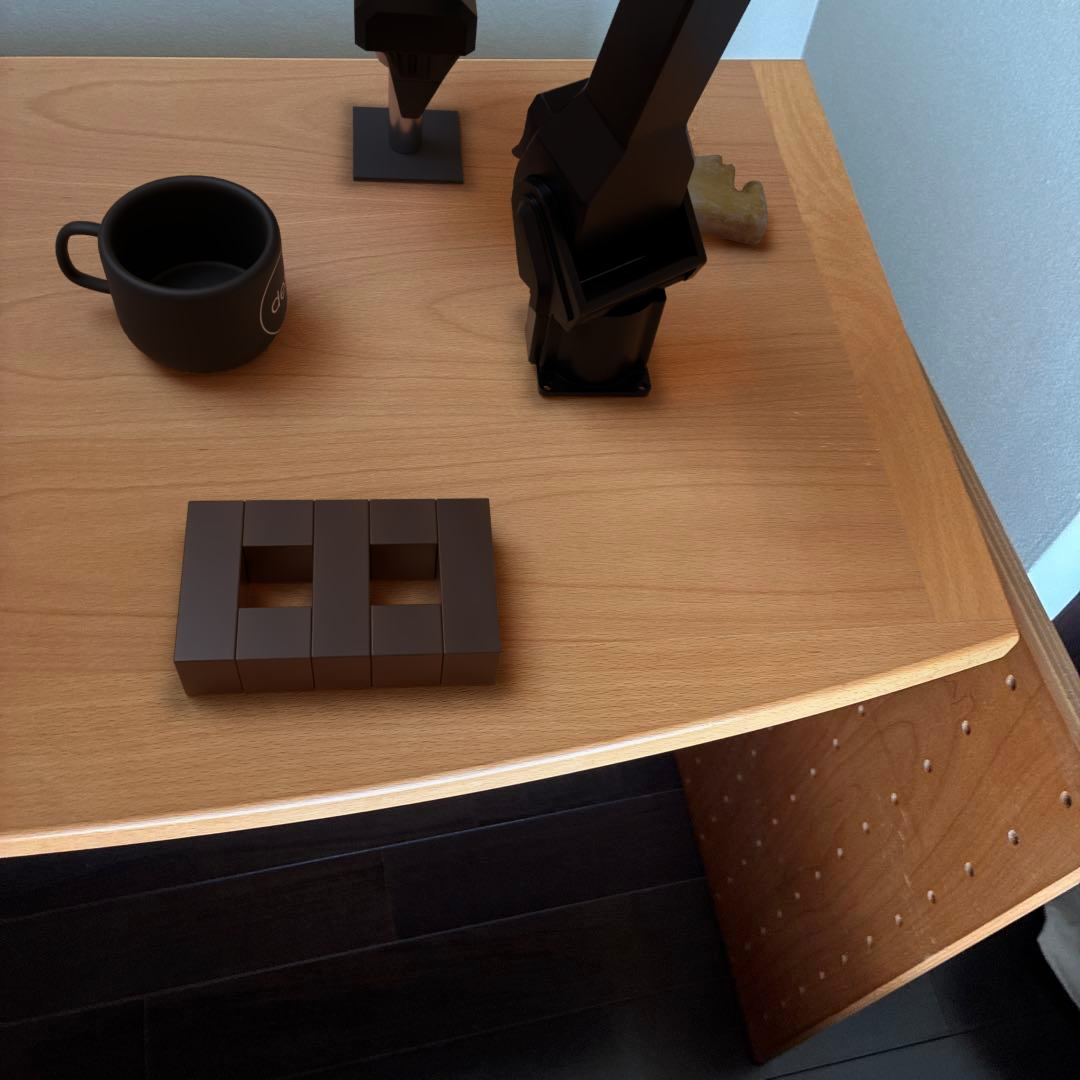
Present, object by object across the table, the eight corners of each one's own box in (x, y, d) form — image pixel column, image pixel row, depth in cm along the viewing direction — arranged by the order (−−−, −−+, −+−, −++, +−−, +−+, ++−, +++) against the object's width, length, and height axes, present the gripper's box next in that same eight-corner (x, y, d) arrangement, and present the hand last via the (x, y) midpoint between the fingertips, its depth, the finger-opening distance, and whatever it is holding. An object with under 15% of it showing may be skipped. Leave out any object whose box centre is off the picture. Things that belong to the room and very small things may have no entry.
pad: (457, 114, 74) (458, 110, 74) (463, 184, 71) (463, 180, 70) (352, 109, 73) (352, 106, 73) (353, 180, 70) (352, 176, 69)
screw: (433, 125, 73) (438, 13, 66) (435, 163, 71) (440, 51, 64) (375, 123, 72) (374, 9, 66) (376, 161, 70) (375, 48, 64)
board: (483, 535, 57) (489, 497, 54) (495, 685, 52) (501, 652, 49) (198, 539, 54) (187, 499, 52) (185, 695, 50) (172, 661, 47)
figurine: (756, 156, 72) (535, 116, 68) (785, 179, 68) (551, 137, 64) (733, 234, 75) (519, 199, 71) (760, 260, 70) (533, 225, 66)
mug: (306, 285, 64) (297, 187, 58) (269, 402, 59) (256, 309, 53) (100, 252, 64) (71, 150, 58) (46, 367, 59) (7, 269, 53)
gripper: (254, -314, 58) (278, -28, 71) (235, -127, 48) (267, 165, 61) (465, -293, 60) (451, -17, 73) (488, -108, 50) (466, 172, 63)
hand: (408, 68), depth 67 cm, fingers open, 9 cm apart
